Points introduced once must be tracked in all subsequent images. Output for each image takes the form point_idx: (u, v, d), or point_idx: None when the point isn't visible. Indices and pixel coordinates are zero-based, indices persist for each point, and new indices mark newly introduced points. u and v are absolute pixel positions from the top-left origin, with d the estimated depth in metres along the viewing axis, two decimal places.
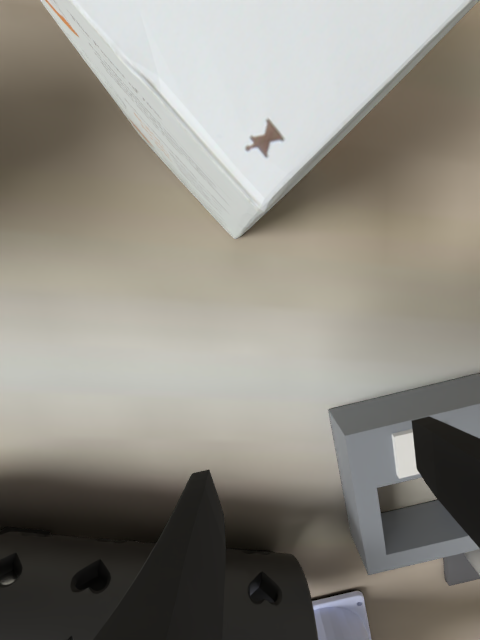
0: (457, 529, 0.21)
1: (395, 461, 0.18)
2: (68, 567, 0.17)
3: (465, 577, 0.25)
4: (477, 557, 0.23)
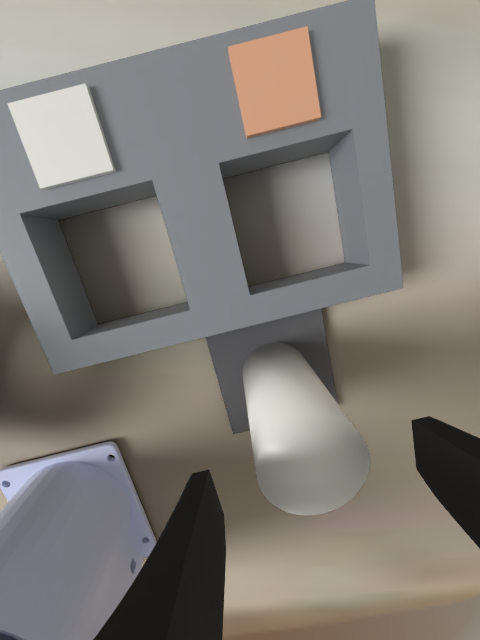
0: (183, 310, 0.15)
1: (34, 162, 0.12)
2: None
3: None
4: (244, 374, 0.16)
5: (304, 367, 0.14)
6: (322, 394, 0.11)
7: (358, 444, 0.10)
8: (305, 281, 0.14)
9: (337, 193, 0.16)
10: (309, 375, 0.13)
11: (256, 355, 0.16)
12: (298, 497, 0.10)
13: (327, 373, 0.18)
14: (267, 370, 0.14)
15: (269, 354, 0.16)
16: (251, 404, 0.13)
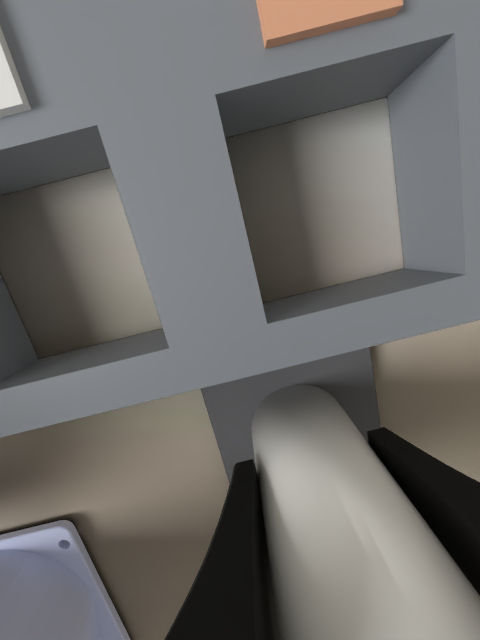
0: (159, 345, 0.09)
1: None
2: None
3: None
4: (255, 436, 0.11)
5: (356, 442, 0.08)
6: (414, 528, 0.06)
7: None
8: (358, 301, 0.09)
9: (400, 162, 0.10)
10: (371, 465, 0.08)
11: (274, 409, 0.11)
12: None
13: (373, 427, 0.12)
14: (295, 448, 0.08)
15: (293, 410, 0.10)
16: (272, 518, 0.07)
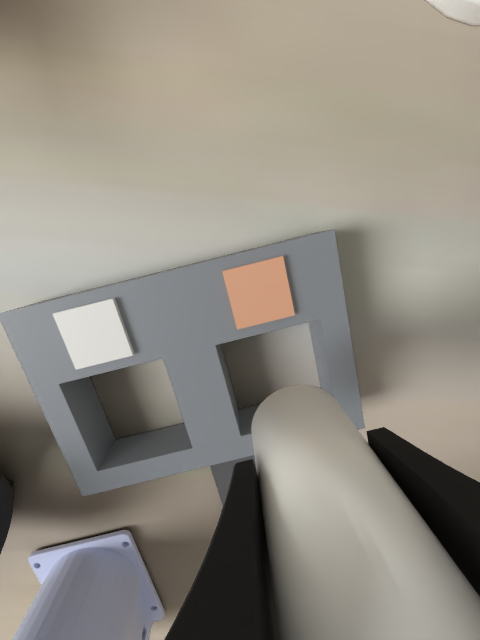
0: (186, 443, 0.18)
1: (70, 349, 0.16)
2: None
3: None
4: (255, 436, 0.11)
5: (356, 443, 0.08)
6: (414, 529, 0.06)
7: None
8: None
9: (313, 341, 0.19)
10: (371, 466, 0.08)
11: (274, 410, 0.11)
12: None
13: None
14: (295, 449, 0.08)
15: (294, 411, 0.10)
16: (272, 519, 0.07)
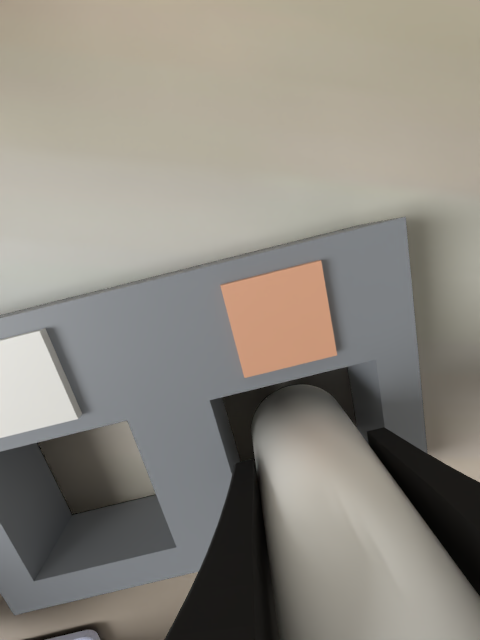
0: (168, 537, 0.12)
1: None
2: None
3: None
4: (255, 436, 0.11)
5: (356, 443, 0.08)
6: (414, 529, 0.06)
7: None
8: None
9: (352, 382, 0.13)
10: (371, 465, 0.08)
11: (274, 409, 0.11)
12: None
13: None
14: (295, 449, 0.08)
15: (294, 410, 0.10)
16: (272, 519, 0.07)
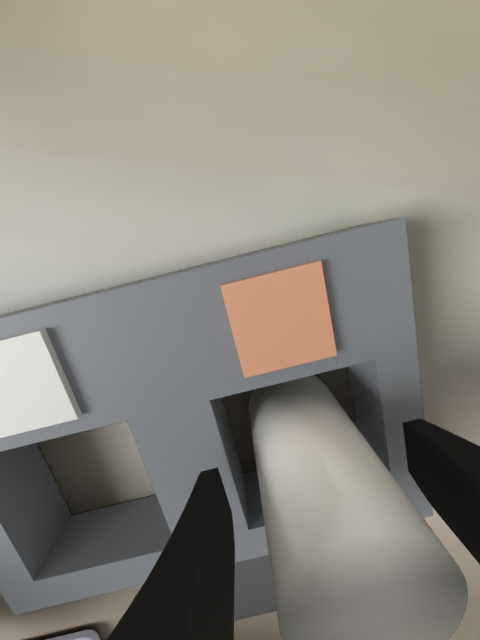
0: (168, 536, 0.12)
1: None
2: None
3: (252, 608, 0.16)
4: (251, 414, 0.13)
5: (337, 414, 0.10)
6: (376, 472, 0.07)
7: (450, 576, 0.06)
8: None
9: (352, 382, 0.13)
10: (347, 430, 0.09)
11: (268, 390, 0.12)
12: None
13: None
14: (285, 418, 0.10)
15: (285, 389, 0.12)
16: (264, 473, 0.09)
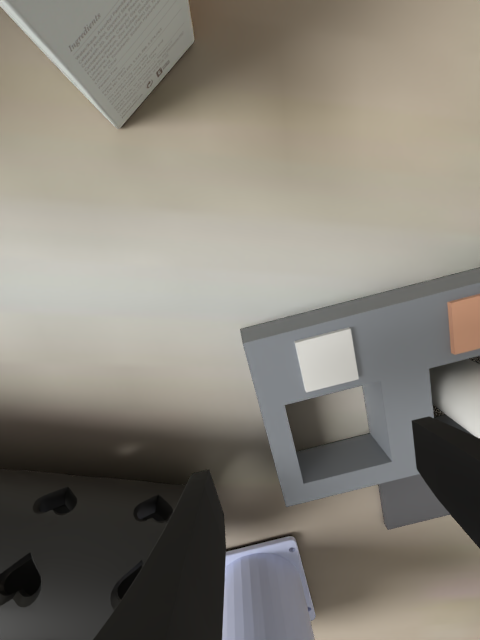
0: (381, 457, 0.19)
1: (301, 373, 0.17)
2: None
3: (404, 519, 0.23)
4: None
5: None
6: None
7: None
8: None
9: None
10: None
11: (442, 365, 0.19)
12: None
13: None
14: (476, 378, 0.17)
15: (458, 364, 0.19)
16: (476, 406, 0.16)
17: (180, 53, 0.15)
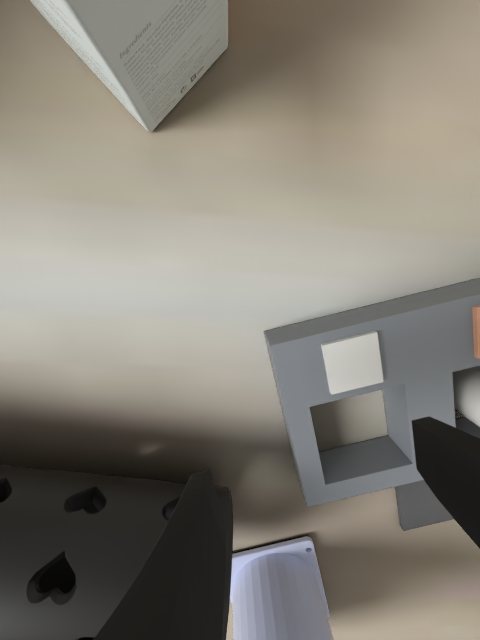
0: (401, 459, 0.20)
1: (326, 376, 0.17)
2: None
3: (420, 521, 0.24)
4: None
5: None
6: None
7: None
8: None
9: None
10: None
11: None
12: None
13: None
14: None
15: (479, 367, 0.19)
16: None
17: (214, 59, 0.15)
